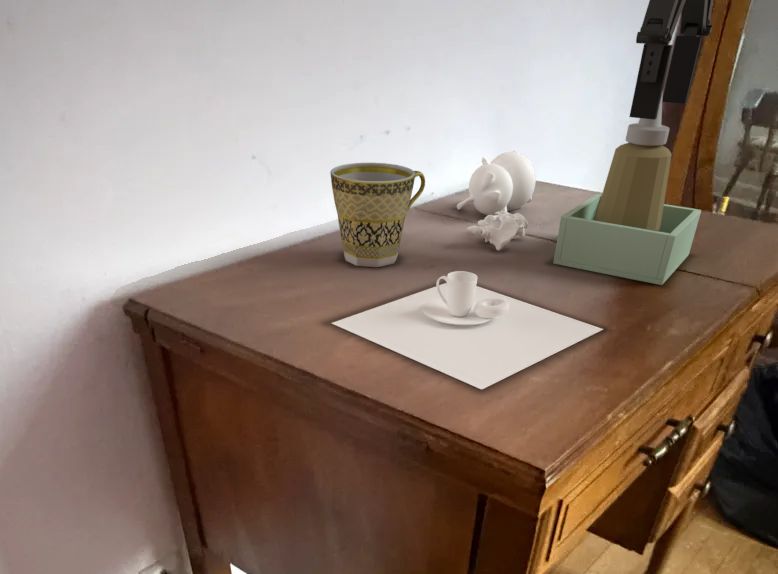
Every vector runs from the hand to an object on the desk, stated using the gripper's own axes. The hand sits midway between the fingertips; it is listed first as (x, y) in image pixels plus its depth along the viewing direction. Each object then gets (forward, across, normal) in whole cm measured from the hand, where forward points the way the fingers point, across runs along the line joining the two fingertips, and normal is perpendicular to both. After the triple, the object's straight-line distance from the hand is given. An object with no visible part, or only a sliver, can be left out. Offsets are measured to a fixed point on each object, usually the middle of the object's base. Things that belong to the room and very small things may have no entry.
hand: (659, 110), depth 82 cm
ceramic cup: (+16, +17, -26) cm, 36 cm away
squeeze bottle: (+16, 0, -1) cm, 16 cm away
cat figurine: (+17, -11, -24) cm, 31 cm away
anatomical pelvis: (+17, +3, -16) cm, 24 cm away
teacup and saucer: (+17, +31, -8) cm, 36 cm away
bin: (+17, 0, 0) cm, 17 cm away
